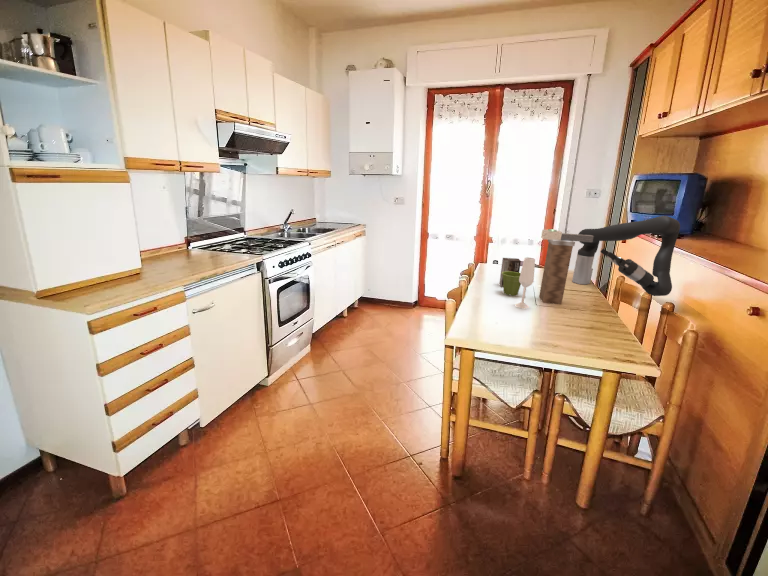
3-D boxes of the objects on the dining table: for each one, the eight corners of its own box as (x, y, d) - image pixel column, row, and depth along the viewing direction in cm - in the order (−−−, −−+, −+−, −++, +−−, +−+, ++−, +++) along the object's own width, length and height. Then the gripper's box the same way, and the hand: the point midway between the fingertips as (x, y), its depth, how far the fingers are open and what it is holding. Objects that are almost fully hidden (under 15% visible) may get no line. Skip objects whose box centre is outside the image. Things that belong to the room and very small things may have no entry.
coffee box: (514, 285, 223) (518, 258, 218) (517, 288, 217) (521, 260, 212) (498, 284, 224) (502, 257, 219) (500, 287, 218) (504, 259, 213)
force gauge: (589, 240, 189) (591, 231, 188) (593, 242, 184) (595, 233, 183) (541, 237, 192) (542, 228, 191) (543, 239, 188) (545, 229, 186)
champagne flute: (512, 305, 188) (519, 258, 180) (518, 302, 192) (525, 256, 185) (525, 309, 183) (533, 260, 176) (531, 306, 188) (539, 258, 181)
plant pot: (525, 294, 207) (528, 274, 203) (515, 298, 198) (519, 278, 195) (505, 289, 214) (508, 269, 211) (495, 293, 206) (497, 273, 203)
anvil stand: (557, 298, 202) (568, 238, 193) (562, 304, 193) (575, 242, 183) (537, 296, 204) (548, 237, 194) (542, 302, 194) (553, 240, 185)
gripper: (630, 261, 193) (604, 243, 193) (644, 267, 179) (616, 248, 179) (620, 272, 195) (594, 255, 195) (632, 280, 182) (605, 261, 181)
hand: (605, 251), depth 187 cm, fingers open, 8 cm apart
